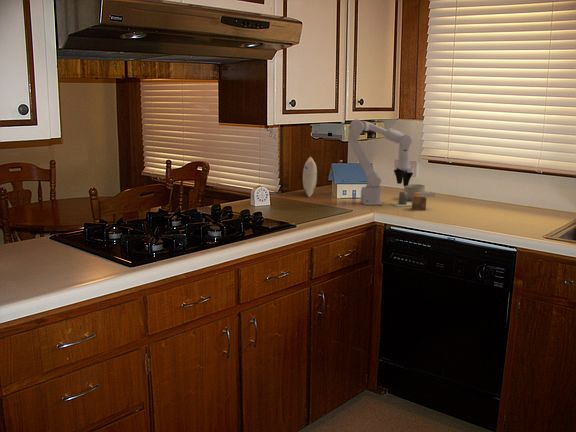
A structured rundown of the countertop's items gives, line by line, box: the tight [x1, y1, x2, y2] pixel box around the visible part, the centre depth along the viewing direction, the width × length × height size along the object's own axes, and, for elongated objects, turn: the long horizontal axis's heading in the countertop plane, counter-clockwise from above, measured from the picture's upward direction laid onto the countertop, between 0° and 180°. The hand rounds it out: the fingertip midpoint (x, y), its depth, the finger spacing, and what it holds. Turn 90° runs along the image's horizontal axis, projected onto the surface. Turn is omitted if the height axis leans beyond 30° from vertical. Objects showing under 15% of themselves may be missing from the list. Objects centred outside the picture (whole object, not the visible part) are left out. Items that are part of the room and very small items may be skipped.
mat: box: [390, 201, 412, 208], centre depth 302 cm, size 10×8×1 cm
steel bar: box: [414, 191, 436, 198], centre depth 292 cm, size 10×3×2 cm, turn 105°
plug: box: [398, 191, 408, 205], centre depth 302 cm, size 4×4×6 cm
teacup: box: [403, 183, 426, 202], centre depth 318 cm, size 14×11×8 cm
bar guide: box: [411, 196, 428, 211], centre depth 292 cm, size 5×5×6 cm
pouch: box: [302, 155, 318, 198], centre depth 325 cm, size 8×19×20 cm, turn 176°
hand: (402, 184), depth 302 cm, fingers open, 7 cm apart
